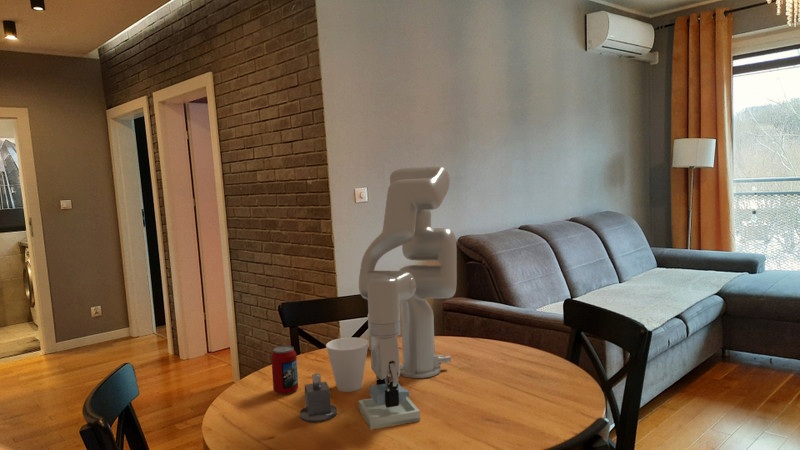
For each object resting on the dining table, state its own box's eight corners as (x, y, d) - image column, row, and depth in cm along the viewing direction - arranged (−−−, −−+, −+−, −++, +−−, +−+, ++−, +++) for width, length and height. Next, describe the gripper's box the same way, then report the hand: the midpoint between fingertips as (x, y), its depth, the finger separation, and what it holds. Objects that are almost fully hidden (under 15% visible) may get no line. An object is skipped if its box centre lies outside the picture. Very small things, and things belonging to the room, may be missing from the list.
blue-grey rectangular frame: (370, 395, 136) (369, 385, 136) (403, 390, 139) (403, 380, 138) (377, 405, 129) (377, 395, 129) (412, 400, 132) (411, 390, 132)
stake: (333, 404, 142) (331, 366, 141) (340, 418, 133) (337, 378, 133) (297, 410, 139) (295, 371, 138) (302, 425, 131) (300, 384, 130)
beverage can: (292, 396, 149) (290, 352, 148) (269, 395, 150) (266, 352, 149) (302, 387, 155) (299, 345, 154) (279, 386, 157) (277, 344, 156)
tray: (404, 402, 142) (404, 392, 142) (420, 420, 130) (419, 410, 130) (359, 409, 138) (358, 400, 138) (370, 429, 127) (370, 419, 127)
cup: (377, 381, 157) (375, 338, 156) (360, 397, 146) (358, 351, 145) (339, 377, 161) (337, 336, 160) (320, 393, 150) (318, 348, 149)
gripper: (361, 321, 140) (364, 390, 141) (379, 339, 123) (382, 416, 124) (389, 318, 142) (392, 386, 143) (411, 335, 125) (413, 411, 127)
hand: (387, 399), depth 134 cm, fingers closed on blue-grey rectangular frame, 7 cm apart
